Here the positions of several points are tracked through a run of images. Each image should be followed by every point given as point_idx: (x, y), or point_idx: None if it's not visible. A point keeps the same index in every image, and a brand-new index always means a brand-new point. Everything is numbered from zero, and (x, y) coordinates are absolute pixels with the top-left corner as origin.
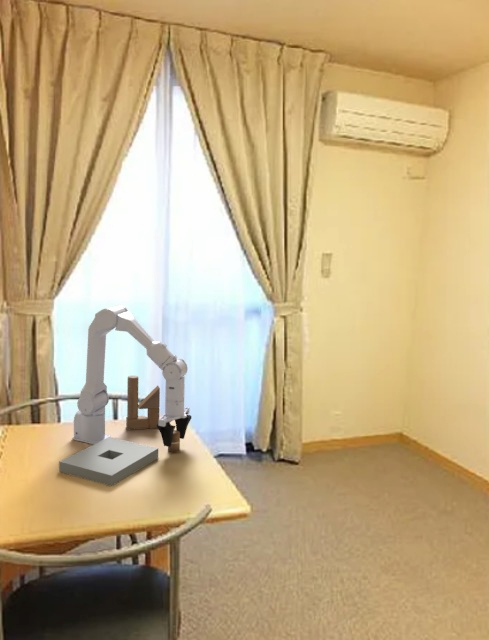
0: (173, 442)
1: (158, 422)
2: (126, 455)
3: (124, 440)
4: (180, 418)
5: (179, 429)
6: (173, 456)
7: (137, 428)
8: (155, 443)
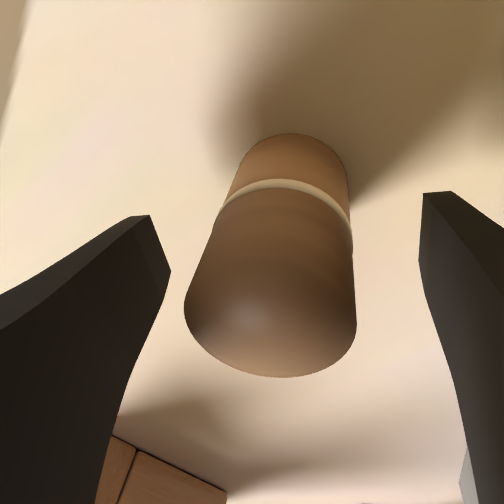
0: (340, 218)
1: None
2: None
3: None
4: (25, 476)
5: (121, 325)
6: (415, 101)
7: (187, 478)
8: None
